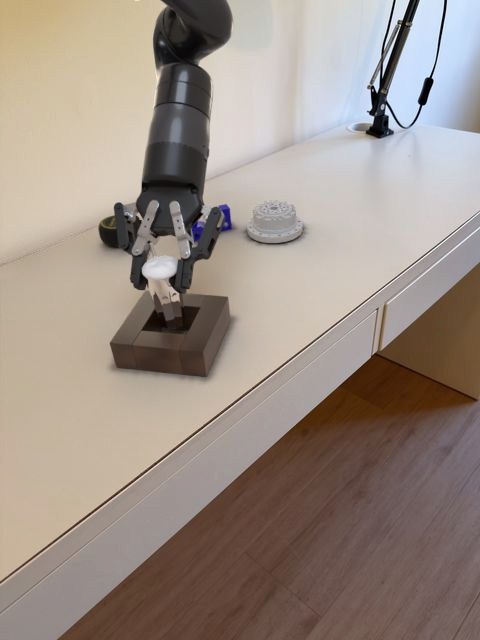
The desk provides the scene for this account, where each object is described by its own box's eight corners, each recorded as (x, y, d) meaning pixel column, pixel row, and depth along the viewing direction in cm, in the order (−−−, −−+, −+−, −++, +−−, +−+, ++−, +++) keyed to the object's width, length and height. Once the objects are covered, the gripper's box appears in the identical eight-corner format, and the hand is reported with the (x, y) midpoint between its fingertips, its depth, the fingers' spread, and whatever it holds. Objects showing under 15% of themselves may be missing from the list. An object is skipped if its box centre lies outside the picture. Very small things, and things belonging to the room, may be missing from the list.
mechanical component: (251, 247, 90) (308, 241, 91) (249, 224, 87) (308, 217, 88) (243, 222, 98) (296, 216, 98) (242, 200, 95) (296, 193, 96)
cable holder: (191, 241, 93) (188, 220, 90) (186, 233, 95) (183, 212, 93) (234, 232, 95) (232, 211, 92) (228, 224, 97) (226, 204, 95)
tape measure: (135, 250, 91) (130, 230, 89) (96, 250, 92) (91, 230, 89) (144, 231, 96) (140, 212, 94) (108, 232, 97) (103, 213, 95)
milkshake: (182, 305, 71) (169, 237, 64) (195, 326, 67) (181, 256, 61) (149, 314, 70) (132, 247, 63) (160, 336, 66) (143, 267, 59)
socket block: (116, 367, 67) (109, 342, 64) (150, 313, 76) (145, 290, 73) (206, 377, 65) (202, 352, 62) (230, 320, 74) (228, 296, 71)
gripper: (108, 137, 62) (89, 279, 61) (225, 139, 59) (208, 288, 58) (135, 165, 69) (118, 293, 68) (240, 168, 67) (225, 301, 65)
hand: (159, 290), depth 63 cm, fingers closed on milkshake, 4 cm apart
